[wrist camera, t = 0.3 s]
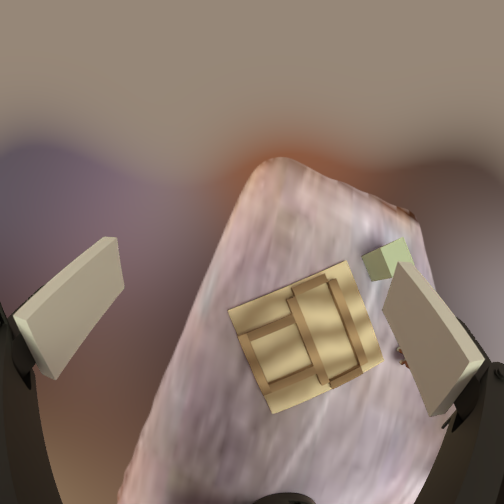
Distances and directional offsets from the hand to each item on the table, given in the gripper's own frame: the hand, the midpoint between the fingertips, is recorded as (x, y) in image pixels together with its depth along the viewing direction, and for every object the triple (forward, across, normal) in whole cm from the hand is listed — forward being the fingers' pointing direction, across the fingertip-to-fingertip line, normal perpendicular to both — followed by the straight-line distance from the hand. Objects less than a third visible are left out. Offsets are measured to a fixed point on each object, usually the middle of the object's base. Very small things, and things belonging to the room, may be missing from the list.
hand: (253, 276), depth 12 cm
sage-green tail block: (+34, -22, +14) cm, 43 cm away
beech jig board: (+25, -10, +26) cm, 37 cm away
